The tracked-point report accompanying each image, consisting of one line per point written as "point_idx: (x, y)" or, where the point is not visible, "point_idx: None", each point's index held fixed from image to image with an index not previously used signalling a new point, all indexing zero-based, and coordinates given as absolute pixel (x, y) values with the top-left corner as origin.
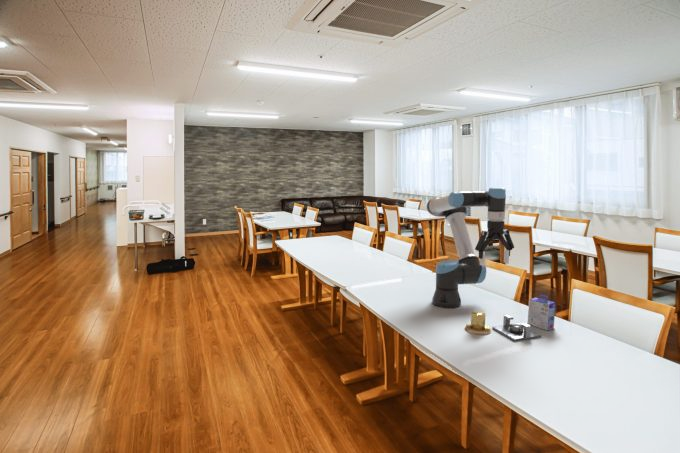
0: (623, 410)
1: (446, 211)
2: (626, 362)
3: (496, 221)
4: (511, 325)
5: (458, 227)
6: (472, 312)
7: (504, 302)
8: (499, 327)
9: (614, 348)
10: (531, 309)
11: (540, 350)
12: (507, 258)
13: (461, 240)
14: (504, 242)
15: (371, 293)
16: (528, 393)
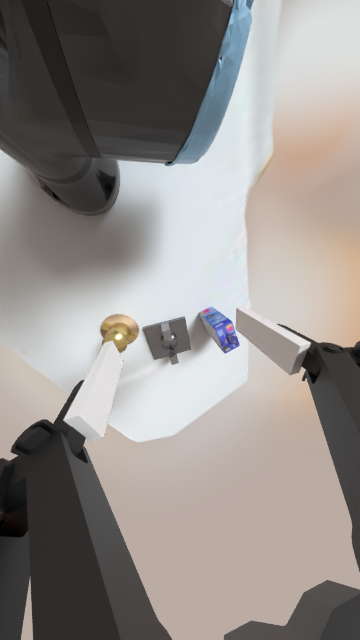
0: (173, 421)
1: None
2: (221, 382)
3: None
4: (164, 340)
5: None
6: (105, 339)
7: (227, 197)
8: (152, 331)
9: (233, 364)
10: (209, 326)
11: (170, 372)
12: (251, 341)
13: None
14: (339, 468)
15: None
16: (127, 420)
